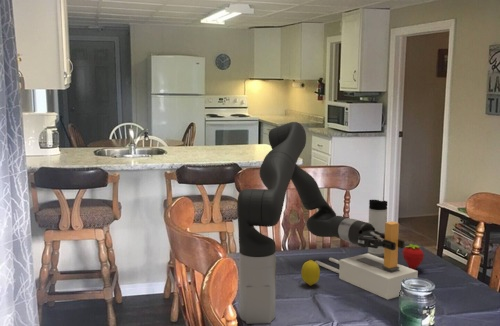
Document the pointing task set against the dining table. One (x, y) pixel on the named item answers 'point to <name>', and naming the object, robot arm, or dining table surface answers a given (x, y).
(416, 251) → the strawberry
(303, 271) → the lemon
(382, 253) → the travel mug
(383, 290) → the switch box
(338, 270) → the cords
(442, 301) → the dining table surface
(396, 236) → the handle
